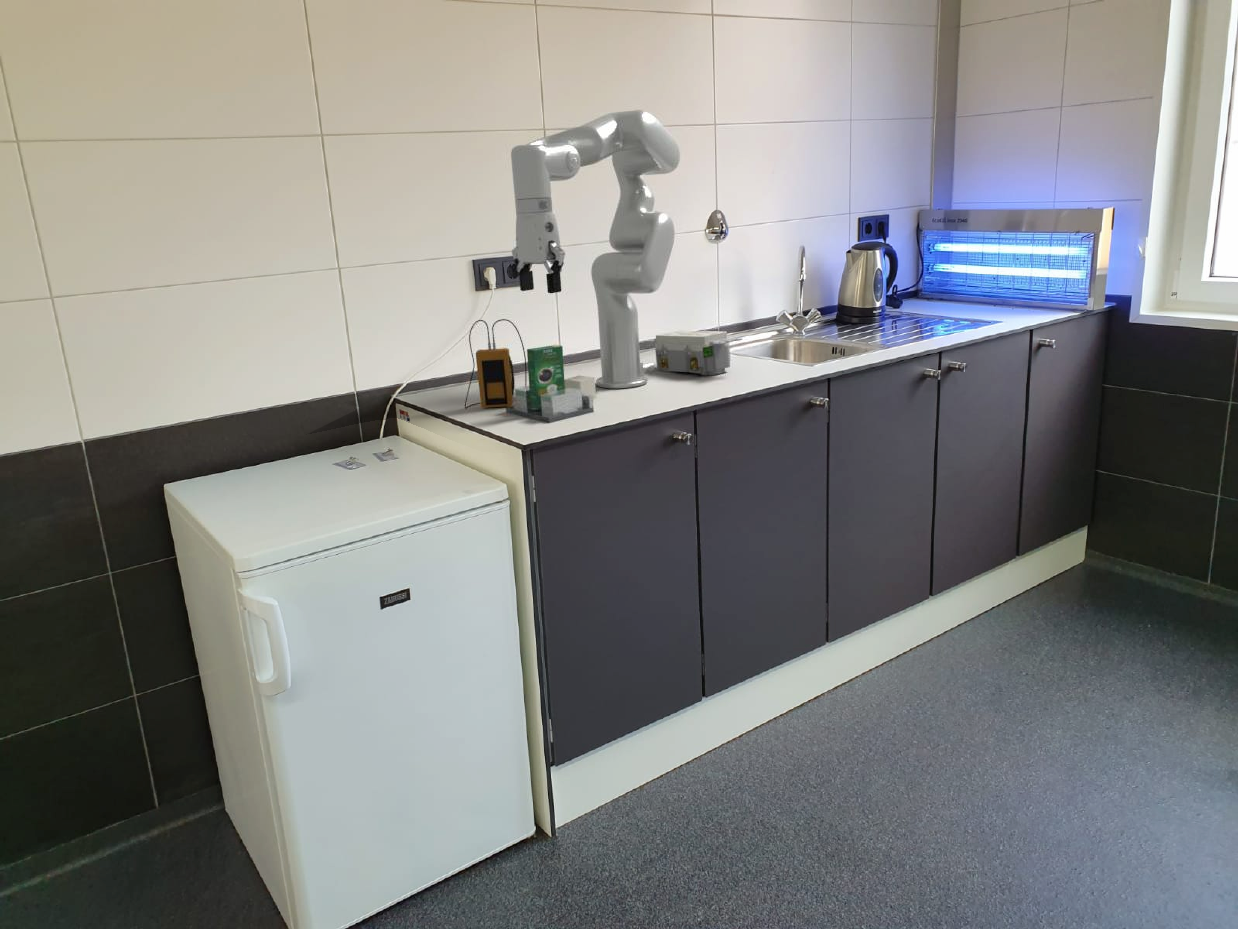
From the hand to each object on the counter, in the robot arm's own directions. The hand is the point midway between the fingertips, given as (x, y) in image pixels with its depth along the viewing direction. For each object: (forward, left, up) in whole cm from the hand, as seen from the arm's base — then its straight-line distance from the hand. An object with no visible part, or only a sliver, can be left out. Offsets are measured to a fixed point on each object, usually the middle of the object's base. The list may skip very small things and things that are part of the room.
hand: (540, 291), depth 195 cm
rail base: (0, 0, -26) cm, 26 cm away
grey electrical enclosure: (-50, -6, -27) cm, 57 cm away
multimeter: (+2, -17, -27) cm, 31 cm away
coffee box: (0, 0, -25) cm, 25 cm away
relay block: (-12, -4, -26) cm, 29 cm away
